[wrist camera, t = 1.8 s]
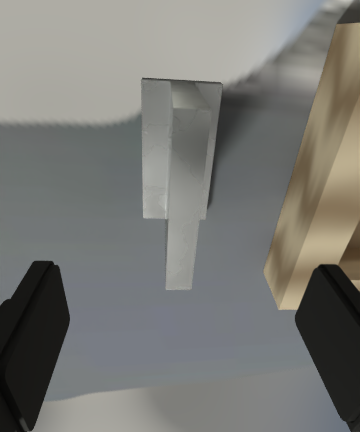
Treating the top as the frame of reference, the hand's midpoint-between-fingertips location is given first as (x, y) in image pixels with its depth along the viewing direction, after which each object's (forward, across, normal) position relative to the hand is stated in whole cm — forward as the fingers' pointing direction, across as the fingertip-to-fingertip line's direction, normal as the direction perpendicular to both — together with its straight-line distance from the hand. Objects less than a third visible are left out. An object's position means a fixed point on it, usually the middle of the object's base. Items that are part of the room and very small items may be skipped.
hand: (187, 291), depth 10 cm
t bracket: (+12, 0, -1) cm, 13 cm away
